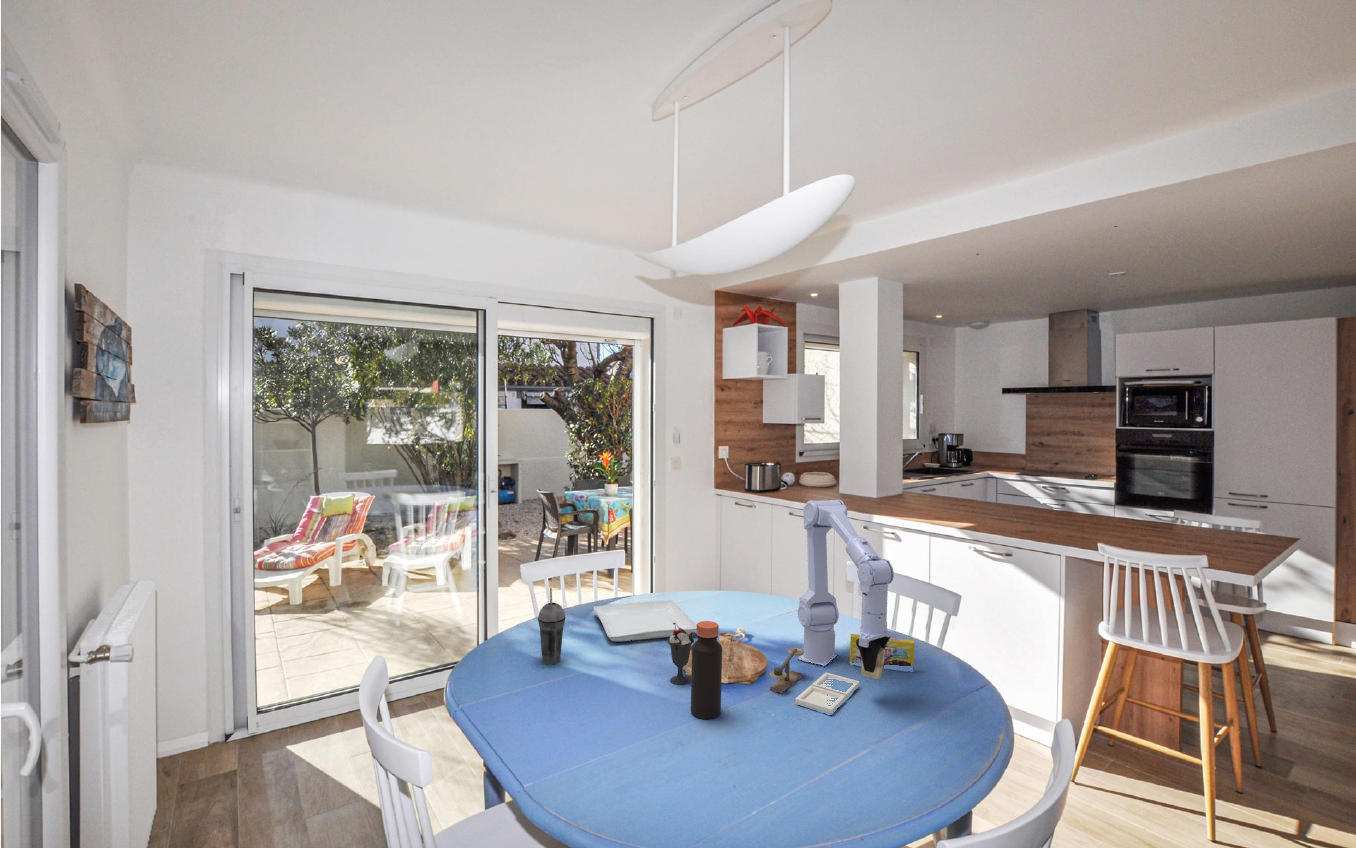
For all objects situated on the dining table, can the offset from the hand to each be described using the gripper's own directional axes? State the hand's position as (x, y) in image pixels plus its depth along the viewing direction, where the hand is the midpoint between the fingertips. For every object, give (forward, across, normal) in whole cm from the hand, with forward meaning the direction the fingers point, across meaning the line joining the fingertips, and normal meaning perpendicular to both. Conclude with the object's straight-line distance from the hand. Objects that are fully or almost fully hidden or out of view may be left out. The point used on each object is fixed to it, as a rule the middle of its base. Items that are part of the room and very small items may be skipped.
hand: (872, 668), depth 152 cm
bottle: (+8, -29, +28) cm, 41 cm away
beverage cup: (+8, -30, +76) cm, 82 cm away
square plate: (+8, +6, +73) cm, 74 cm away
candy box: (+8, +20, +4) cm, 22 cm away
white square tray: (+8, 0, +9) cm, 12 cm away
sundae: (+8, -19, +42) cm, 47 cm away
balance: (+8, -4, +20) cm, 22 cm away
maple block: (+2, 0, 0) cm, 2 cm away
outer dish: (+8, -9, +9) cm, 15 cm away
